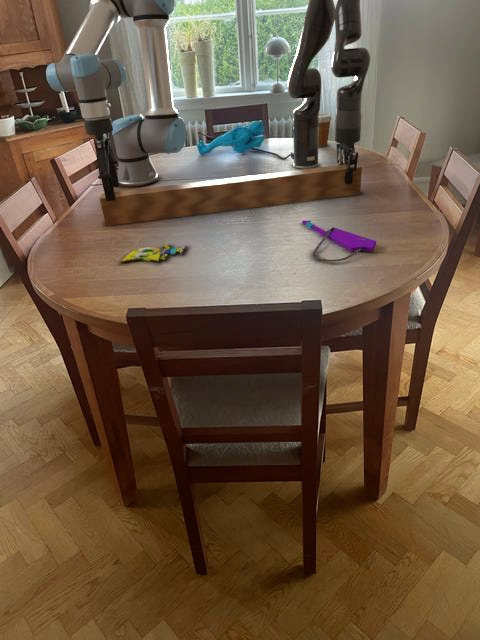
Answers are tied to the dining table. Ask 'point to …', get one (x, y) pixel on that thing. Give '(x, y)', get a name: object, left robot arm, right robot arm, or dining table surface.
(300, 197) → the post
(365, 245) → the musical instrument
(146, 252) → the toy
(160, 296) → the dining table surface
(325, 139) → the disposable coffee cup
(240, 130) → the toy
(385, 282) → the dining table surface
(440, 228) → the dining table surface
